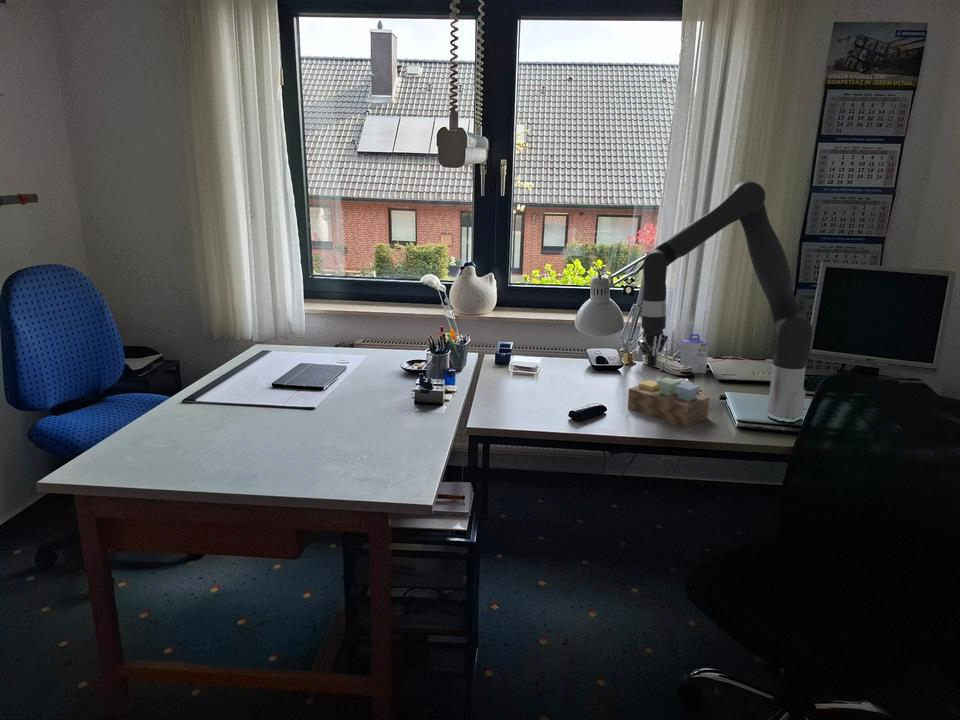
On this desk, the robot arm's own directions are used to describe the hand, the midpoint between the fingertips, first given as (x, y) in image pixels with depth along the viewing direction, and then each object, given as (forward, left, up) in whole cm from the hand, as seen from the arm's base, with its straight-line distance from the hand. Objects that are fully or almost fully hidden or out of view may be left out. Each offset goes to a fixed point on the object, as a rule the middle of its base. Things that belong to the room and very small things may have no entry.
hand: (651, 366), depth 214 cm
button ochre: (0, 0, -13) cm, 13 cm away
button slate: (-14, 0, -10) cm, 17 cm away
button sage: (-7, 0, -10) cm, 13 cm away
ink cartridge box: (+15, -46, -15) cm, 50 cm away
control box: (-7, 0, -14) cm, 16 cm away
